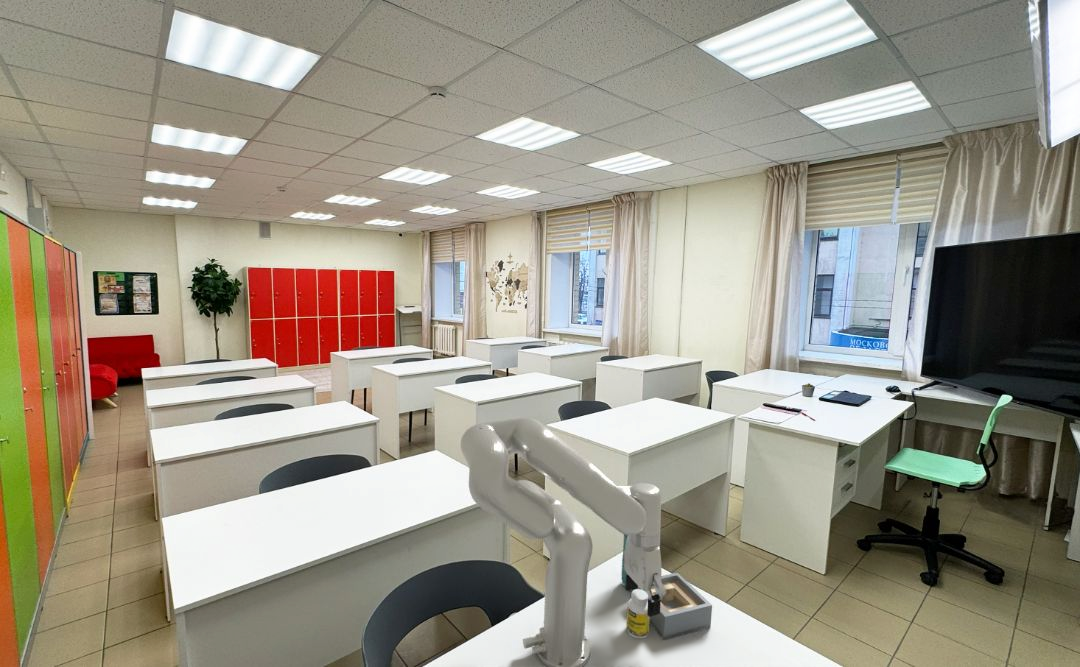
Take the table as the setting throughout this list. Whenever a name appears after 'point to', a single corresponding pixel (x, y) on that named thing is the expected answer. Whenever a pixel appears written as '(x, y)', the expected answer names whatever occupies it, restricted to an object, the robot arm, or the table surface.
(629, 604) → the supplement bottle
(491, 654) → the table surface
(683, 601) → the box
